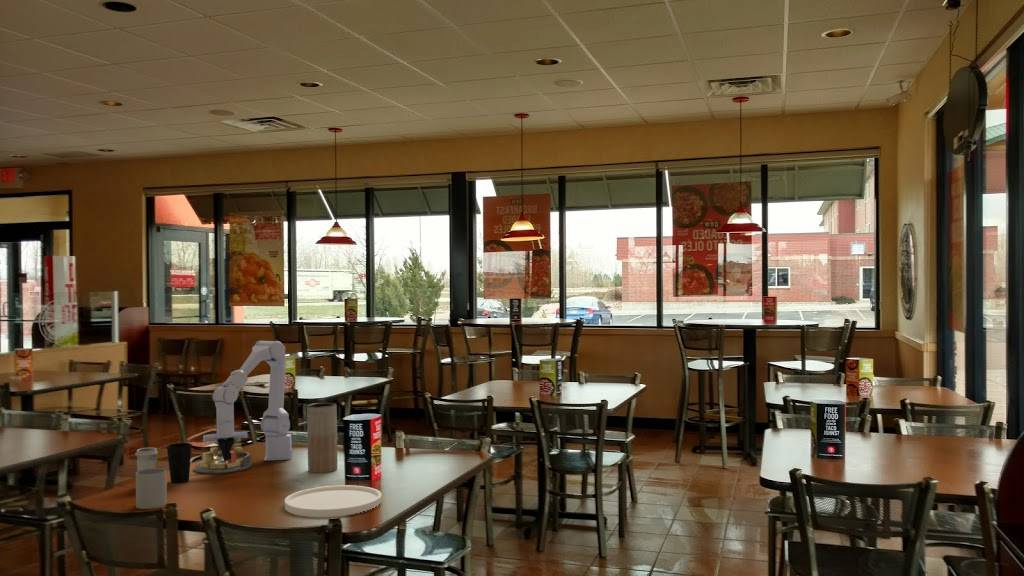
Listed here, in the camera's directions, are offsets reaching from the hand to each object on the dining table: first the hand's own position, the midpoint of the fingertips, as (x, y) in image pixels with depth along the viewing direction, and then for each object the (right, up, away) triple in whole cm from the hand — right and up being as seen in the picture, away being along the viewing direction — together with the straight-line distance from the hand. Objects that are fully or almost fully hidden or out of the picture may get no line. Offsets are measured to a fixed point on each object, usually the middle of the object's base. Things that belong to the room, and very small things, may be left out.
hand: (225, 460), depth 292 cm
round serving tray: (-3, -4, +5) cm, 7 cm away
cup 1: (-18, -4, -21) cm, 28 cm away
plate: (+47, -4, -45) cm, 66 cm away
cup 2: (-7, -4, -44) cm, 45 cm away
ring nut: (-3, -3, +5) cm, 7 cm away
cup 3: (-10, -4, -14) cm, 18 cm away
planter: (+34, -4, 0) cm, 34 cm away
